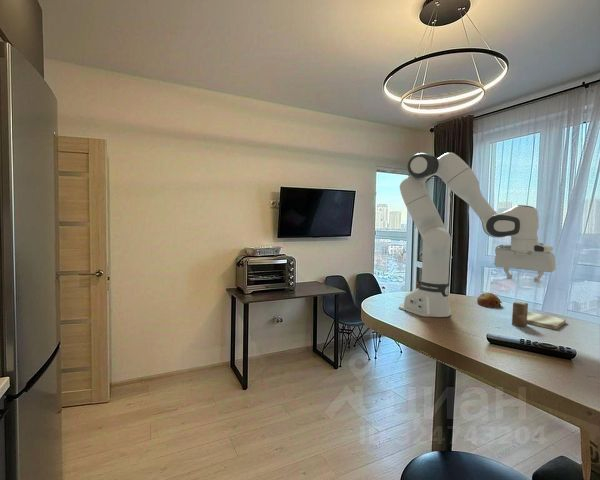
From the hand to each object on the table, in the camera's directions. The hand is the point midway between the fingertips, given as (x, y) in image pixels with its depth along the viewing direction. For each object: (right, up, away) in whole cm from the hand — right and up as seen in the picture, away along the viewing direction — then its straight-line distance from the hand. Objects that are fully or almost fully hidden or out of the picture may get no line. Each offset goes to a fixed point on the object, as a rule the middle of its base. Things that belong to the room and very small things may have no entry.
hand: (522, 280), depth 129 cm
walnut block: (0, -18, +2) cm, 18 cm away
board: (+12, -18, +6) cm, 22 cm away
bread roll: (+6, -17, +32) cm, 37 cm away
